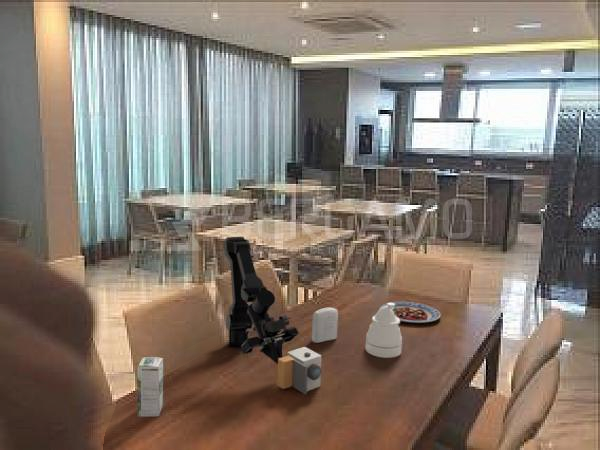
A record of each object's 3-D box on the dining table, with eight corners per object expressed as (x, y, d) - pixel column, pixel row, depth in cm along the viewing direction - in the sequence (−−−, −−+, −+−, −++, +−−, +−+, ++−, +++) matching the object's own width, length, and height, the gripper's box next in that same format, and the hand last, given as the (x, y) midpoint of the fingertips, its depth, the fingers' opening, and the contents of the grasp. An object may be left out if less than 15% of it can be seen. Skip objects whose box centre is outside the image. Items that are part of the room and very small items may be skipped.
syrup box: (142, 406, 139) (141, 356, 137) (163, 405, 140) (163, 356, 137) (137, 417, 133) (136, 366, 131) (160, 417, 134) (159, 366, 132)
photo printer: (331, 335, 194) (333, 304, 192) (338, 339, 190) (340, 307, 188) (309, 340, 188) (311, 308, 186) (316, 344, 185) (317, 312, 183)
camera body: (285, 382, 155) (286, 350, 153) (303, 376, 160) (304, 344, 158) (306, 395, 148) (307, 362, 146) (324, 388, 152) (325, 356, 150)
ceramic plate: (447, 314, 223) (448, 307, 222) (428, 331, 202) (429, 324, 201) (393, 302, 237) (393, 296, 236) (370, 317, 215) (370, 311, 215)
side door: (277, 385, 151) (278, 358, 150) (287, 381, 154) (288, 355, 152) (295, 397, 144) (296, 369, 143) (306, 393, 147) (307, 366, 146)
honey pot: (408, 350, 182) (411, 303, 179) (388, 361, 173) (391, 311, 170) (378, 340, 191) (381, 294, 188) (358, 349, 182) (361, 301, 178)
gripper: (246, 313, 148) (267, 362, 141) (296, 302, 159) (317, 347, 153) (232, 330, 155) (251, 377, 148) (280, 318, 167) (300, 361, 160)
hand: (281, 365), depth 152 cm, fingers closed
